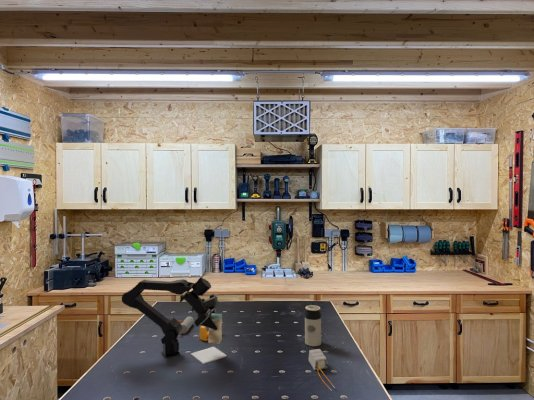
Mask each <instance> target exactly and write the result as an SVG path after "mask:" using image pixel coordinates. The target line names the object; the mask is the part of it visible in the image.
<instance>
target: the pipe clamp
mask: <svg viewBox="0 0 534 400" xmlns="http://www.w3.org/2000/svg"><path fill="white" fill-rule="evenodd" d="M208 338H209V330H208V331H207V327H206V326H203V325H200V326H199V340H201V341H204V342H207V341H208Z"/></svg>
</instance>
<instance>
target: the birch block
mask: <svg viewBox="0 0 534 400" xmlns="http://www.w3.org/2000/svg"><path fill="white" fill-rule="evenodd" d="M211 319H212V321H213V322H214V324H215V325H216V327H217V328H218V329H217V330H214V329H211V328H209V327H208V331H209V338H208V340H207V341H208V344H213V345H220V343H221V341H222V338H223V337H222V336H223V330H222V329H223V313H215V314H214V313H212V314H211Z"/></svg>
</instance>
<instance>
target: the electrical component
mask: <svg viewBox="0 0 534 400" xmlns="http://www.w3.org/2000/svg"><path fill="white" fill-rule="evenodd" d="M324 354H325V353H323V351H322V350H321V349H320V348H317V349H311V350H310V349H309V352H308V362H309V364H310V365H311V367H312V369H313V370H314V371H316V370H317V374H318V376H319V377H320V380H321V381H322V382H323V383H324V385H325V386H326V387H327V388H328V389H329V390H330V391H331V392H332V391H333V390H332V389H331V388H330V386H329V385H328V384H327V383H326V382H325V381H324V380H323V377H322V376H321V375H320V372H321V374H322V375H323V376H324V377H325V379H326V380H327V381H328V383H329V384H331V386H332V387H333V388H334V389H336V387H335V386H334V385H333V383H332V381H330V379H329V378H328V376H327V375H325V373H324V372H323V371H322V370H324V369H328V364H329V361H328V360H327V357H326V356H325V355H324ZM319 371H320V372H319Z"/></svg>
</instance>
